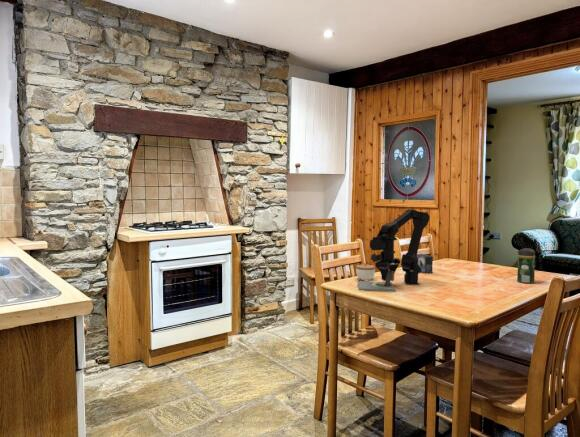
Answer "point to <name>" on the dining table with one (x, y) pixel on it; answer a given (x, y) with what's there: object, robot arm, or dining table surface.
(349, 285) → the dining table surface
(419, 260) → the small box
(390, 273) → the peg knob
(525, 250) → the coffee jar
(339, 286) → the dining table surface
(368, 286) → the tuner board
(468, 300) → the dining table surface
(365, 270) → the lidded jar
